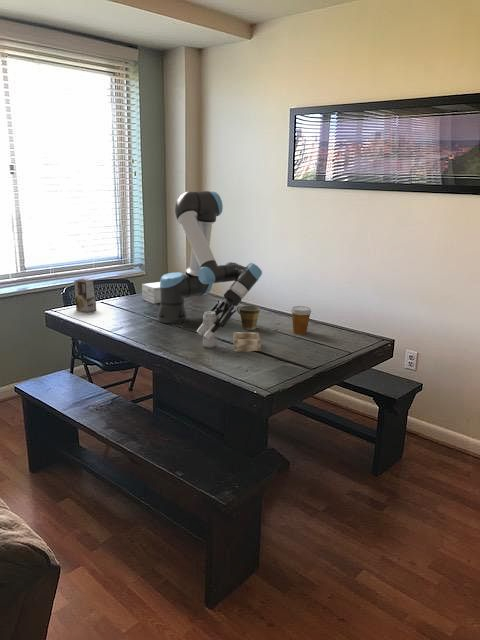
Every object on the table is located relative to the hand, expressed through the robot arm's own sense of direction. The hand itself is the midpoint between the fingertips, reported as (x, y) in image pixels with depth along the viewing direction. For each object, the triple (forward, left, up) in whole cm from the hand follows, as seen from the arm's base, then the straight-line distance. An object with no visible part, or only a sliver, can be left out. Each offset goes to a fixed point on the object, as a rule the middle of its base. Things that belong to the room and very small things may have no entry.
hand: (202, 335), depth 226 cm
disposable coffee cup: (+46, +23, -6) cm, 52 cm away
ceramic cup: (+21, +31, -6) cm, 38 cm away
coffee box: (-63, +60, -6) cm, 87 cm away
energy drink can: (+3, +2, -6) cm, 7 cm away
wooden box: (+19, +1, -6) cm, 20 cm away
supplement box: (-26, +85, -6) cm, 89 cm away
